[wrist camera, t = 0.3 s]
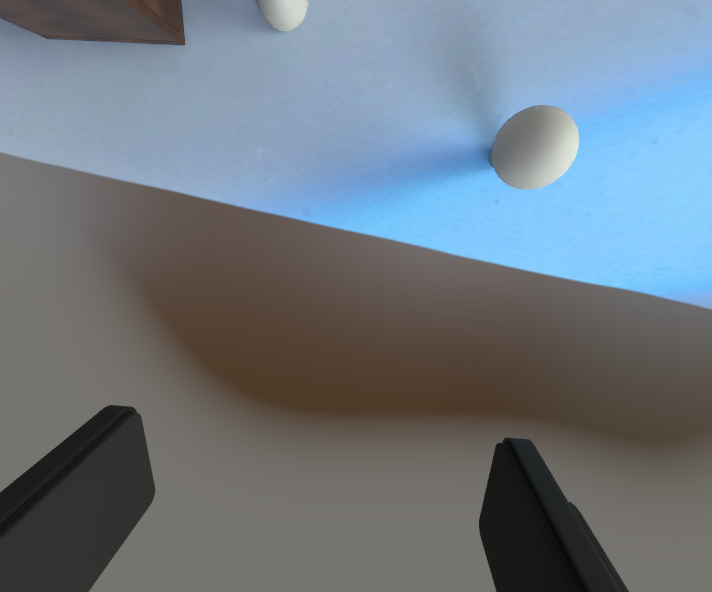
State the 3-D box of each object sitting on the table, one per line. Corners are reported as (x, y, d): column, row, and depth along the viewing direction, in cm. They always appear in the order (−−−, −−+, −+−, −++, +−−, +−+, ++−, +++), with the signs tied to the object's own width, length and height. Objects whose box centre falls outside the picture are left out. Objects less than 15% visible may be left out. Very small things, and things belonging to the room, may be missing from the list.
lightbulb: (539, 131, 33) (613, 106, 23) (516, 194, 35) (575, 198, 25) (479, 117, 33) (525, 87, 23) (460, 181, 35) (495, 180, 25)
